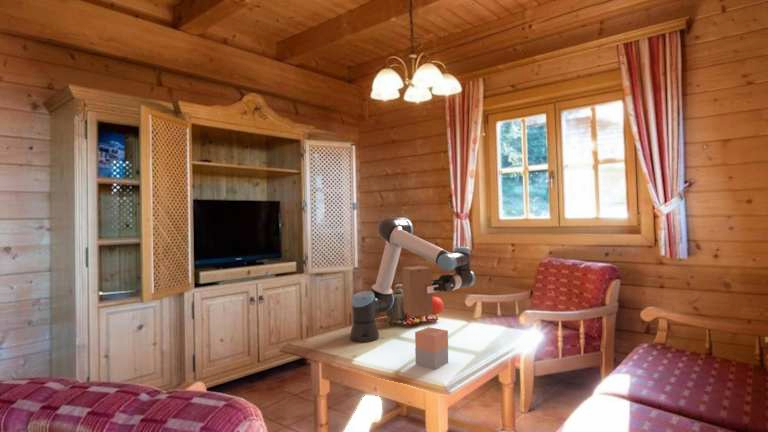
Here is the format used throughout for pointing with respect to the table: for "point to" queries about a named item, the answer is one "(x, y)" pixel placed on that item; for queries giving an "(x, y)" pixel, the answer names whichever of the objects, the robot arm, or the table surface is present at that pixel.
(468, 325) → the table surface
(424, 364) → the tower base
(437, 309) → the molecule
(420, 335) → the tower top
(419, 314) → the wooden block
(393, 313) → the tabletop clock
